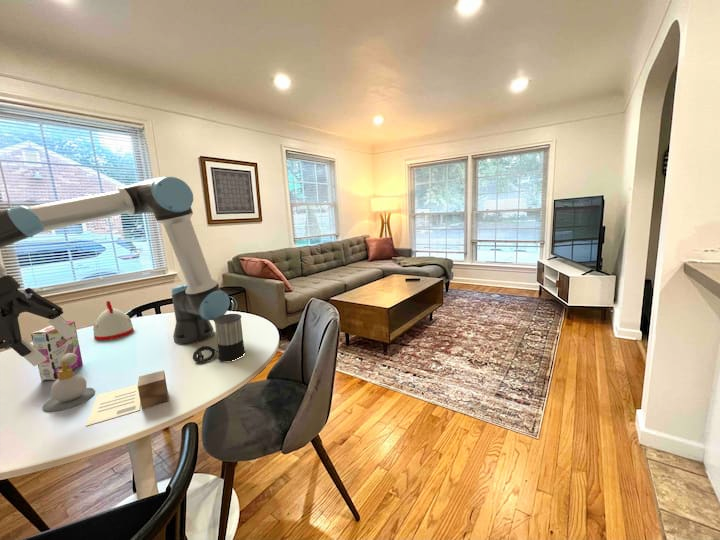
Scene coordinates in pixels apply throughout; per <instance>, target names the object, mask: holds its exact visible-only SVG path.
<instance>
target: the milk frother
mask: <svg viewBox="0 0 720 540" xmlns="http://www.w3.org/2000/svg"><path fill="white" fill-rule="evenodd" d="M212 321H213V322H214V326H215V335H216V342H217V349H215V348H214V347H212V346H208V345H203V346H200V347H198V348H197V349H196V350H195V351H194V352H193V354H192V360H193V361H194V362H195V363H206V362H210V361H211V360H212V359H214V357H215V355H216V352H217V354H218V361H220V362H222V361H231V362H233V361H232V360H235V359H237V358H239V357H241V356H243V354H244V353H245V354H246V351H245V345H244V336H243V328H242V327H243V326H242V314H239V313H228V314H227V313H225V314H224V315H222V316H219V317H216V318H215V319H214V320H212ZM203 351H210V353H211V354H210V355H209V356H208V357H205V355H204V354H203V353H202V352H203Z"/></svg>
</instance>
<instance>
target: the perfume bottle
mask: <svg viewBox="0 0 720 540" xmlns="http://www.w3.org/2000/svg"><path fill="white" fill-rule="evenodd" d="M76 361H77V355H76V354H74V353H67V354H65V355H64V356H63V357H62V358H61V364H62V365H61V367H62V369H61V370H59V371H58V373H59V378H58V379H57V380H54V382H53V383H52V385H51V388H50V396H51V398H54V399H55V400H57V401H60V402H66V401H71V400H74V399H76V398H78V397H80V396H81V395H82V394H83V393H84V391H85V389H86V388H88V387H87V380H86V378H85V377H84V376H82V375H81V374H79V373H74V370H72V367H66V366H71V365H73V364H74V363H75V362H76Z"/></svg>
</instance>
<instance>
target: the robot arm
mask: <svg viewBox="0 0 720 540" xmlns="http://www.w3.org/2000/svg"><path fill="white" fill-rule="evenodd" d="M193 202H194V194H193V191H192V189H191V187H190V186H189V185H188V183H186V182H185V181H183V179H180V178H178V177H175V176H161V177H155V178H150V179H146V180H142V181H140V182H136V183H134V184H130V185H127V186H120V187H118V188H116V191H110V192H105V193H100V194H99V193H98V194H94V195H88V196H83V197H77V198H71V199H66V200H65V199H64V200H60V201H59V200H58V201H54V202H49V203H43V204H37V205H31V206H25V205H18V206H15V207H9V208H7V209H4V210H2V211H0V249H1V248H4V247H7V246H10V245H12V244H15V243H17V242H20V241H23V240H25V239H28V238H33V237H34V236H35V235H37V234H40V233H41V234H42V233H44V232H48V231H53V230H56V229H57V230H59V229H63V228H66V227H72V226H75V225H79V224H80V225H81V224H84V223H89V222H90V223H91V222H94V221H98V220H102V219H107V218H111V217H115V216H121V215H125V214H126V215H129V216H134V215H139V214H150V213H151V214H152V213H153V216H154V218H155V221H157V223H160V224H162V225H163V226H164V229H165V232H166V235H167V237H168V239H169V242H170V244H171V248H172V249H173V252H174V254H175V257H176V260H177V262H178V265H179V268H180V270H181V272H182V275H183V277H184V280H185V283H184V284H179V285H175V286H173V287H172V288H171V298H172V305H173V311H174V317H175V327H174V331H173V336H172V337H173V341H174V343H176V344H179V343H182V345H183V343H188V344H193V342H195V343H198V342H197V341H199V342H202V341H205V340H207V339H206V338H208V337H210V336H211V335H212V334H213V333H214V334H215V330H214V327H213V325H212V323H211V321H213V320H214V319H215V318H216V317H219V316H222V315H226V314H227V312H228V310H229V307H230V302H231V301H230V297H229V295H228V294H227V293H226V292H225V291H223V290H221V288H220V285H219V282H218V280H216V279H213V277H212V275H211V273H210V270H209V267H208V265H207V261H206V259H205V257H204V252H203V251H202V248H201V245H200V242H199V239H198V237H197V233H196V230H195V228H194V225H193V223H192V221H191V218H192V216H193V214H194V211H193V208H192V206H193ZM7 272H8V270H6V268H4V267H3V265H1V264H0V350H2V349H3V350H8V349H10V348H11V349H12V350H13V351H15V352H16V353H17V354H18V355H19V356H20V357H23V358H24V359H25V360H26V361H27V362H29V363H30V365H32V366H33V367H36V366H38V364H40V363H42V362H44V361H45V360H47V358H46V357H45V356H44V355H43V354H41V353H40V352H39V351H38V350H37V349H36V348H35V347H34V345H33V343H31V342H30V341H29V340H28V339H27V338H25V339H22V334H21V328H20V323H19V316H20V314H22V313H25V312H27V313H29V314H33V315H35V316H39V317H41V318H44V319H48V320H49V321H48V323H49V324H50V326H51V325H52V326H53V327H54V328H55V329H56V330H57V331H58V332H59V333H60V334H61V335H62V336H63V337H64V338H65V339H66V340H67V339H68V338H70V337H72V336H74V335H76V334H77V335H78V333H76V332H75V331H74V330H73V329H72V328H71V327H70V326H69V325H68V323H67V322H66V320H65V319H64V317H62V316H61V315H63V314H64V311H63V308H62V307H61V306H59V305H57V304H56V303H54V302H52V301H50V300H48V299H47V298H45V297H43V296H41V295H40V294H38V293H37V292H35V291H34V290H33V288H31V287H27V288H25V289H23V290H19V289H20V288H21V284H20V283H19V282H18V281H17V280H16V279H15V278H14V277H13V276H12V275H10V274H7ZM214 334H213V335H214ZM213 335H212V336H213ZM212 336H211V337H212ZM211 337H210V338H211ZM204 339H205V340H204ZM208 339H209V338H208ZM201 340H202V341H201Z"/></svg>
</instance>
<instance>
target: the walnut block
mask: <svg viewBox="0 0 720 540" xmlns="http://www.w3.org/2000/svg"><path fill="white" fill-rule="evenodd" d="M137 380H138V381H137V383H138V384H137V385H138V391H139V397H140V402H141V404H140V408H141V410H142V411H144V410H146V409H150V408H153V407H156V406H160V405H162V404H163V405H164V404H166V403H169V392H168V385H167V379H166V374H165V370H159V371H155V372H151V373H148V374H144V375H140V376H138V379H137Z"/></svg>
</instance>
